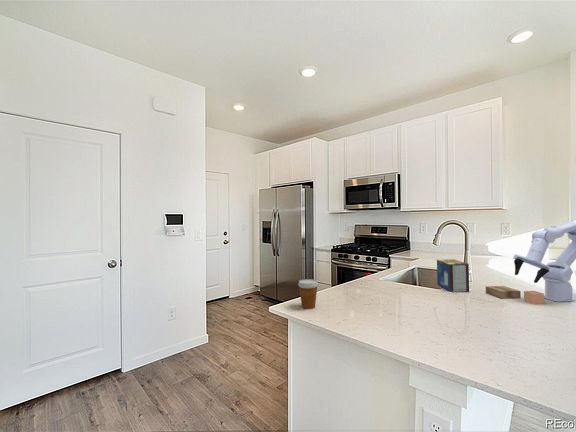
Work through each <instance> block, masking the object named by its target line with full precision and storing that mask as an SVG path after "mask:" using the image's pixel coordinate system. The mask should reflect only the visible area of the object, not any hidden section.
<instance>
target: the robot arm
mask: <svg viewBox="0 0 576 432" xmlns="http://www.w3.org/2000/svg"><path fill="white" fill-rule="evenodd" d="M565 234H567V238H568V239H569V240H571V242H570V243H569V244H568V245H567V247H566V248H565V249H564V250H563V251H562V252H561V254H560V255H559V256H558V257H557V259H555V260H554V261H551V262H547V263H546V264H545V263H542V262H543V259H544V257H545V255H546V252H547V250H548V248H549V245H550V244H553V243H554V242H555V241H556V240H557V239H559V238H562V237H563V236H564V235H565ZM531 238H532V239H531V245H530V247H529V249H528V253H527V254H526V256H523V255H519V254H516V253H515V254H514V255H513V257H512V259H513V264H514V276H518V275H519V274H520V270H521V268H522V266H523V264H524V263H525V264H527V265H530V266H533V267H534V268H535V267H536V268H539V270H537V272H536V276H535V278H534V280H533V283H535V284H537V283H538V282H539V281H540V280H541V279H542V280H544V285H545V286H544V290H545V291H544V292H545V294H544V299H547V300H549V301H553V302H575V301H576V299H573V286H572V284H571V283H570V282H569V281H570V280H571V278H572V275H573V274H574V272H573V269H572V267H571V266H572V265H573V264H574V262H575V261H576V221H572V220H571V221H567V222H565V224H563V225H561V226H557V225H551V226H550V227H548V228H544V229H543V230H536V231H534V232H533V233H532V235H531Z"/></svg>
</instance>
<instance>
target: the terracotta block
mask: <svg viewBox="0 0 576 432" xmlns="http://www.w3.org/2000/svg"><path fill="white" fill-rule="evenodd" d="M544 296H545V294H544V293H542V292H539V291H536V290H524V291H523V301H524V302H525V303H528V304H531V305H535V306H537V305H545V298H544Z"/></svg>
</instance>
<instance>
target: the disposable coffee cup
mask: <svg viewBox="0 0 576 432" xmlns="http://www.w3.org/2000/svg"><path fill="white" fill-rule="evenodd" d="M297 286H298V288H299V295H300V301H301V302H300V303H301V307H302V308H303V309H304V310H305V309H306V310H311V309H315V308H316V304H317V303H316V302H317V294H318V286H319V283H318V280H316V279H309V278H307V279H300V280H299V281H298V283H297Z"/></svg>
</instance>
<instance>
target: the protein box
mask: <svg viewBox="0 0 576 432" xmlns="http://www.w3.org/2000/svg"><path fill="white" fill-rule="evenodd" d="M469 265H470V264H469V263H468V262H464V261H460V260H457V259H436V275H437V276H436V277H437V279H436V281H437V286H439V287H440V288H442V289H444V290H445V291H447V292H450V293H454V292H455V293H465V292H466V293H470V269H469V268H470V266H469Z"/></svg>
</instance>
